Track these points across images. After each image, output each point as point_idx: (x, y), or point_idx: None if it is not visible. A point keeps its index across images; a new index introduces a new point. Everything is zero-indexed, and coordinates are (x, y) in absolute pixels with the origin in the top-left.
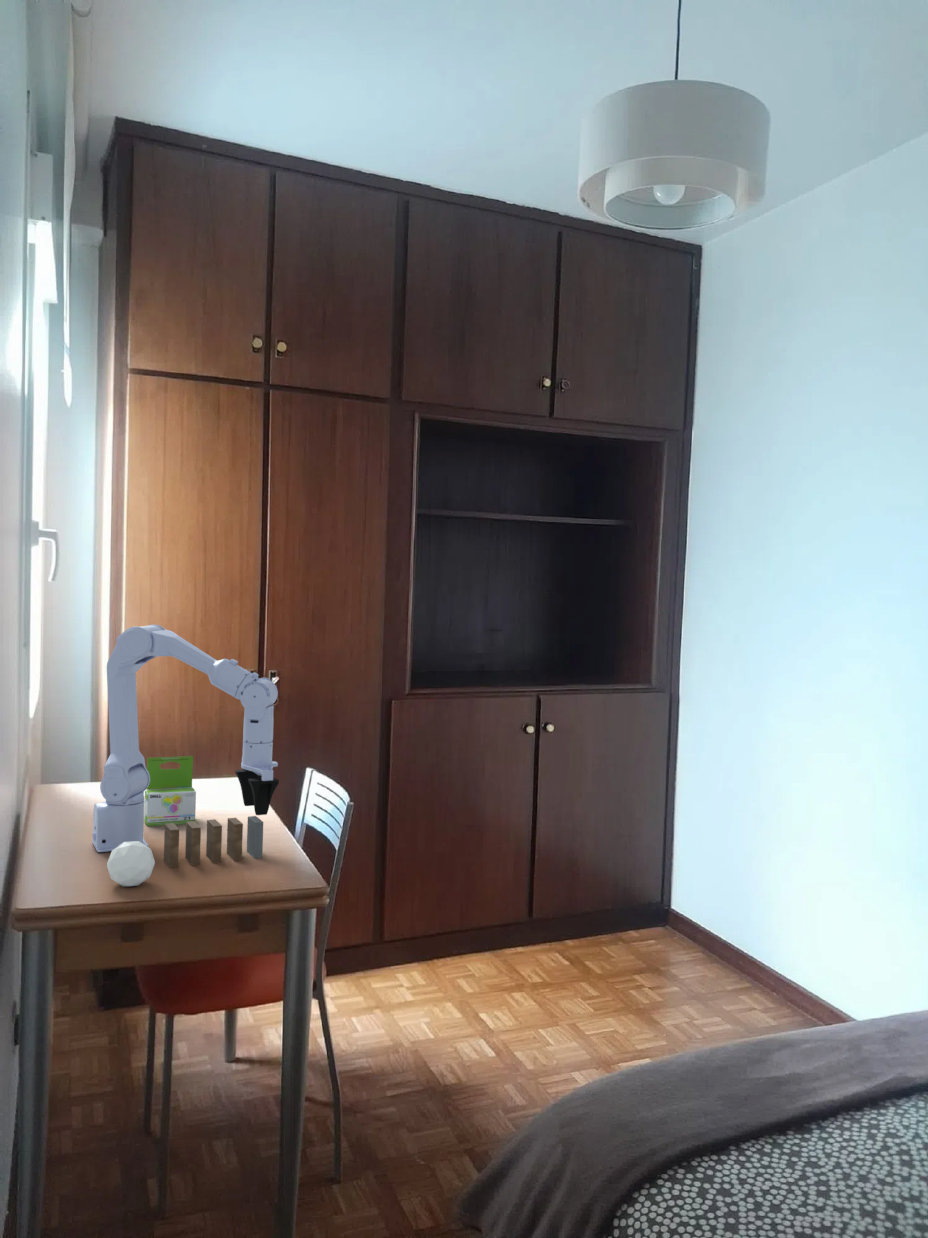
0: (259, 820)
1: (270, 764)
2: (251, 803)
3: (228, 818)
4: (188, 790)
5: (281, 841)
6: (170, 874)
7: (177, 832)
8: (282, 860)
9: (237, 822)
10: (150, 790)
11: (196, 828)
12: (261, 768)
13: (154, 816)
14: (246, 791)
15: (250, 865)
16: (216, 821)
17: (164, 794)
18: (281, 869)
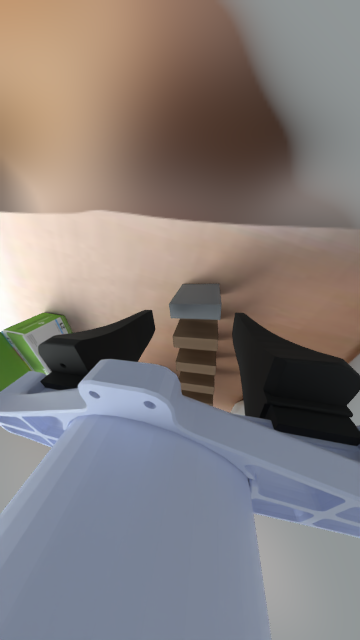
0: (205, 307)
1: (218, 459)
2: (151, 320)
3: (175, 346)
4: (22, 342)
5: (143, 228)
6: (234, 378)
7: (212, 402)
8: (247, 257)
9: (205, 344)
10: (36, 371)
11: (213, 390)
12: (319, 519)
13: None
14: (139, 347)
15: (246, 308)
16: (188, 364)
17: (45, 363)
18: (294, 273)
